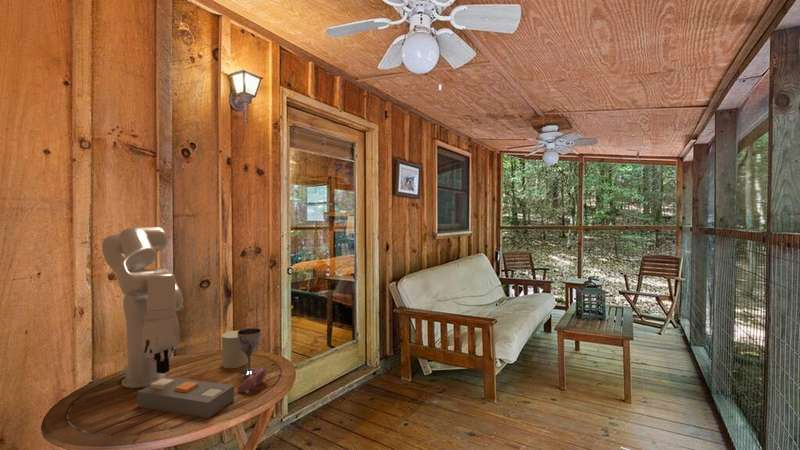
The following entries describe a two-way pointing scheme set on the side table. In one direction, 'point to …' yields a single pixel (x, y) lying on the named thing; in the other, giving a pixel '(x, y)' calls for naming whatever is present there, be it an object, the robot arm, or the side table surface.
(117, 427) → the side table surface
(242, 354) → the can
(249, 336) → the wine glass
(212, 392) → the button sage
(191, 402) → the button panel
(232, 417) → the side table surface
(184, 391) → the button orange
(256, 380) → the video game controller
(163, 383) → the button cream
